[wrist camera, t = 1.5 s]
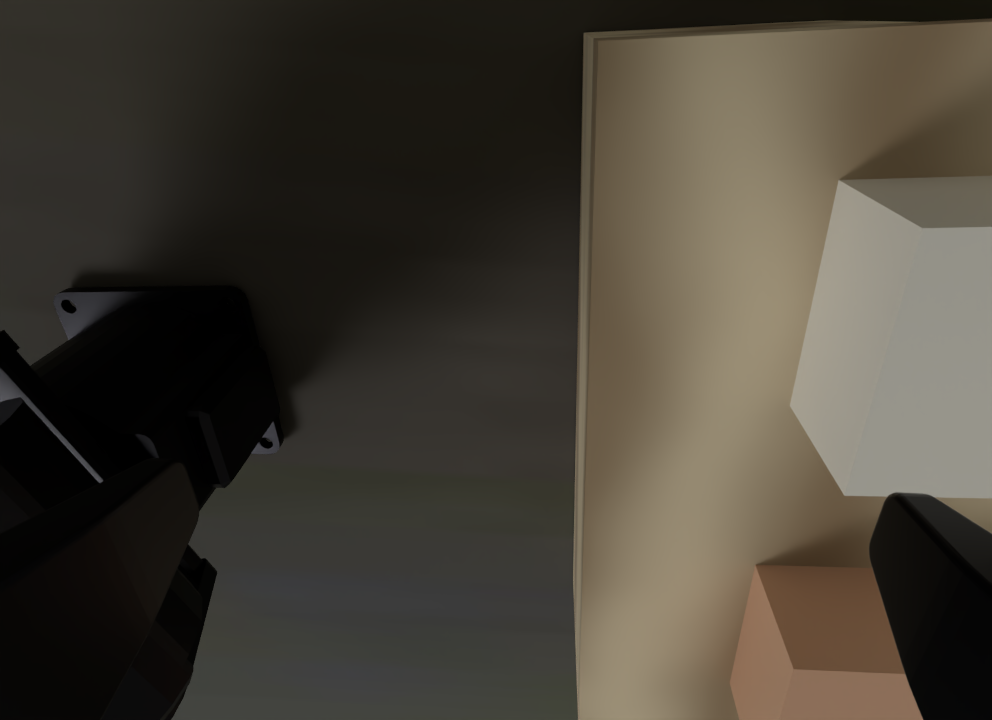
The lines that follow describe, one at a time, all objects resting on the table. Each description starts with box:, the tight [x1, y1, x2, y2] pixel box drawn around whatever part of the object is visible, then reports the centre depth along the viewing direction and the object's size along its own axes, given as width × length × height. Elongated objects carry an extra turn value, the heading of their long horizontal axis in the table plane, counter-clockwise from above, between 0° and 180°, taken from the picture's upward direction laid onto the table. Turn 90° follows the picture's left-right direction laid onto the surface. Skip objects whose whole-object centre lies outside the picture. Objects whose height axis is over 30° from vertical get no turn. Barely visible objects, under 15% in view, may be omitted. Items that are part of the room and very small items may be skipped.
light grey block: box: [790, 176, 992, 498], centre depth 11 cm, size 5×5×3 cm
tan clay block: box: [730, 565, 923, 720], centre depth 16 cm, size 5×5×3 cm
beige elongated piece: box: [573, 18, 992, 720], centre depth 18 cm, size 11×20×6 cm, turn 3°
